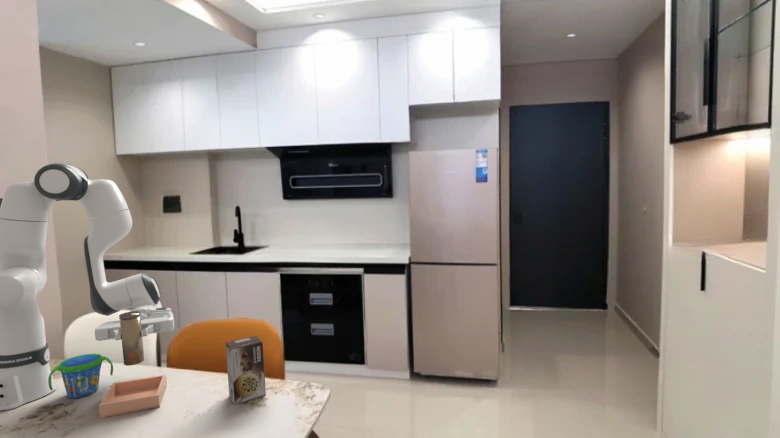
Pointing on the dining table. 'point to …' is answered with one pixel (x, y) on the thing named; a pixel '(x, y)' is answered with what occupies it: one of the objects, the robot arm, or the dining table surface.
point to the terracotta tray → (133, 396)
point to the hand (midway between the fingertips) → (131, 335)
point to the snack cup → (81, 374)
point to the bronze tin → (131, 338)
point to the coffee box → (245, 369)
